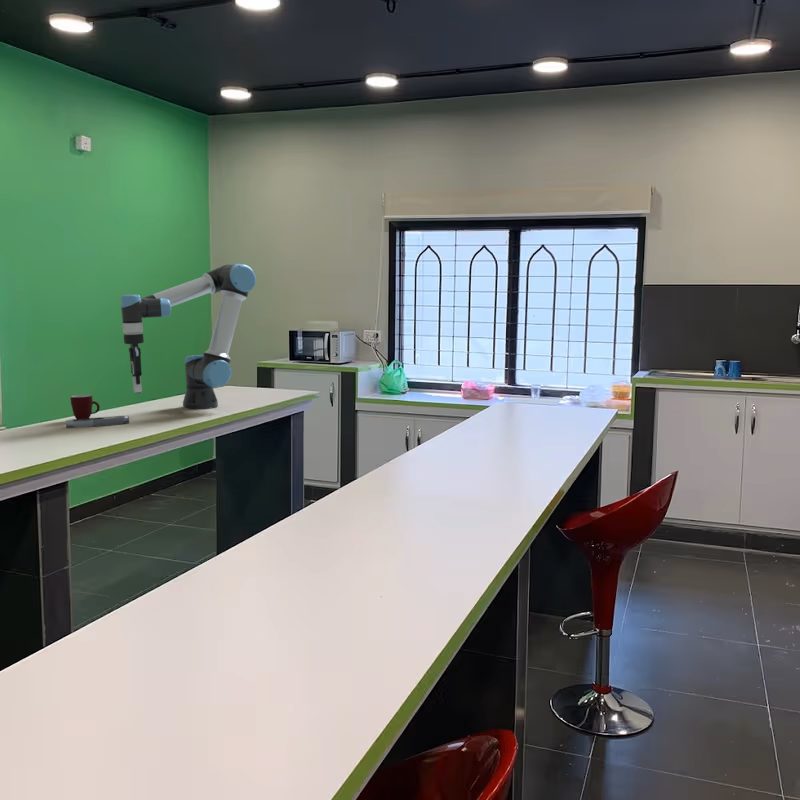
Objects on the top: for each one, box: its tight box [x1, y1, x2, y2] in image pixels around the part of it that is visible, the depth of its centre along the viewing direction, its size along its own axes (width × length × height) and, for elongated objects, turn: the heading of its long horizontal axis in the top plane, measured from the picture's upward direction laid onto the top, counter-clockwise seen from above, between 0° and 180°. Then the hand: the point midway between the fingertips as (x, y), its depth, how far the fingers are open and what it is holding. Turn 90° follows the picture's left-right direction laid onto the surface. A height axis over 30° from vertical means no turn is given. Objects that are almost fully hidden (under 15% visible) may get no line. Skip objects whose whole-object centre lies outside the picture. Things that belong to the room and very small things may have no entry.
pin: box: [130, 361, 142, 394], centre depth 318 cm, size 3×3×13 cm
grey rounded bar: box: [65, 415, 130, 429], centre depth 307 cm, size 23×5×2 cm, turn 117°
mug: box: [70, 394, 100, 419], centre depth 317 cm, size 11×8×10 cm
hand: (137, 391), depth 319 cm, fingers closed on pin, 2 cm apart
